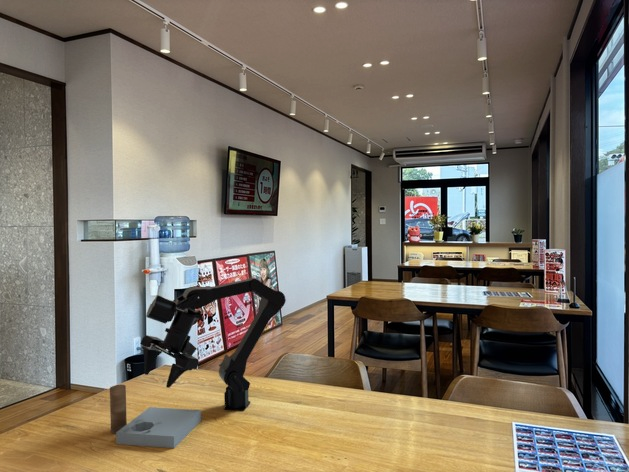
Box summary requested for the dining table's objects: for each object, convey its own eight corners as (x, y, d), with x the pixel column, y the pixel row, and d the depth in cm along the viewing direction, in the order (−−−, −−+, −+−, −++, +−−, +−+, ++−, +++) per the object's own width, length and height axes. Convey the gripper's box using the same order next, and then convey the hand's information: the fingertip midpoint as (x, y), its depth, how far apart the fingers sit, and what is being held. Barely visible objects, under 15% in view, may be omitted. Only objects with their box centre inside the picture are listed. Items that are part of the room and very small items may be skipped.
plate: (201, 420, 126) (200, 410, 126) (174, 448, 110) (173, 436, 110) (149, 417, 129) (149, 407, 129) (116, 444, 113) (116, 432, 113)
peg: (129, 427, 122) (128, 384, 122) (121, 434, 118) (120, 390, 118) (116, 426, 123) (115, 384, 123) (107, 433, 119) (106, 389, 119)
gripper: (219, 343, 130) (197, 395, 127) (176, 322, 139) (154, 370, 136) (196, 338, 121) (172, 394, 118) (151, 316, 130) (127, 367, 127)
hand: (156, 380), depth 125 cm, fingers open, 9 cm apart
